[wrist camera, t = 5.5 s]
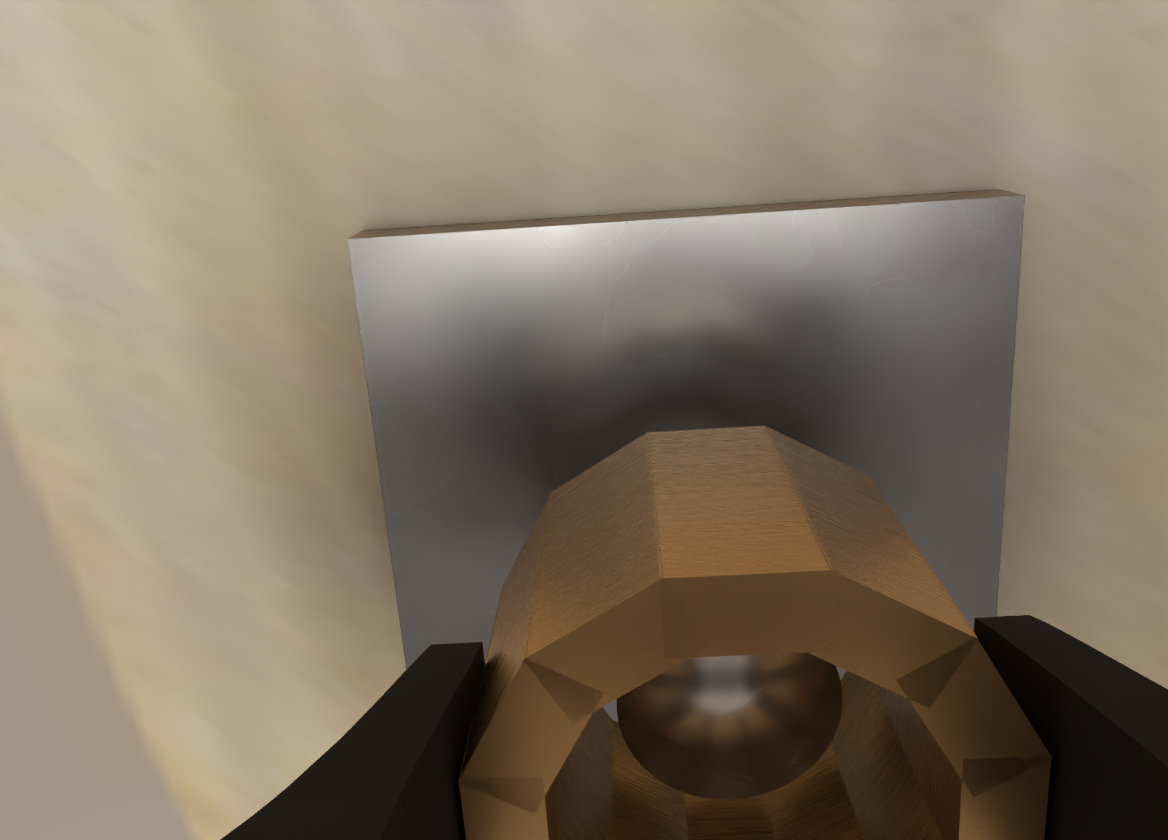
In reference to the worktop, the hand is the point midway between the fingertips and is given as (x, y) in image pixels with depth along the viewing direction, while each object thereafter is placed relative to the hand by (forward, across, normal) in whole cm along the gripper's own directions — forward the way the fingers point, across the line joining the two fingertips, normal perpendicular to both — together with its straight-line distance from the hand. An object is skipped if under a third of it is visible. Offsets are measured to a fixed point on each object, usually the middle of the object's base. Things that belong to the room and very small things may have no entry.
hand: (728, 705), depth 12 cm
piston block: (+6, 0, 0) cm, 6 cm away
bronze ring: (+2, 0, 0) cm, 2 cm away
